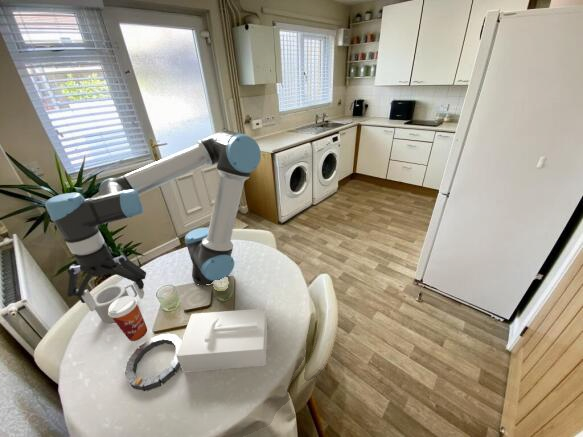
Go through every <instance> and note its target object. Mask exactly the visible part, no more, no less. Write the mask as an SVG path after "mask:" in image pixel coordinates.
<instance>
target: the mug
mask: <svg viewBox="0 0 583 437" xmlns="http://www.w3.org/2000/svg"><path fill="white" fill-rule="evenodd" d="M128 288H131V289H132V291H133V293H134V295H133V297H135V298H136V297H137V296H138V293H137V291H136V289H135V287H134V285H133V284H128V285H123V284H112V285H109V286H106V287H104V288H102V289H101V290H99V291H98V292H97V293H96V294H94V296H92V297H93V299H94V300H95V302H96V304H97V305H96V308H95V310H94V311H95V312H96V313H97V315H98V317H99V318H100V319H101V321H102V322H103V323H104V324H107V325H111V324H117V323H116V322H115V321H114V320H113V318H112V317H110V316H109V315H108V309H109V306H110V305H111V304H112V303H113V302H114V301H115V300H117V299H118V298H121V297H124V296H130V295H129V294H128V291H127V289H128Z"/></svg>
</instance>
